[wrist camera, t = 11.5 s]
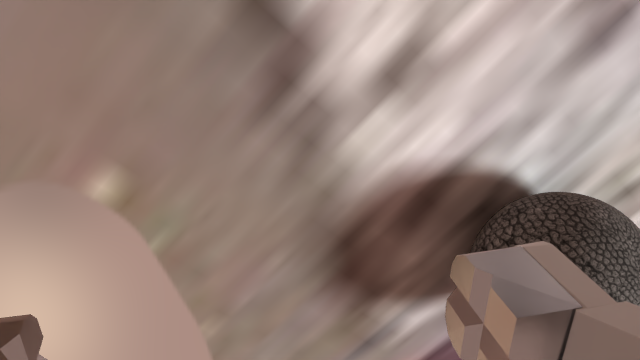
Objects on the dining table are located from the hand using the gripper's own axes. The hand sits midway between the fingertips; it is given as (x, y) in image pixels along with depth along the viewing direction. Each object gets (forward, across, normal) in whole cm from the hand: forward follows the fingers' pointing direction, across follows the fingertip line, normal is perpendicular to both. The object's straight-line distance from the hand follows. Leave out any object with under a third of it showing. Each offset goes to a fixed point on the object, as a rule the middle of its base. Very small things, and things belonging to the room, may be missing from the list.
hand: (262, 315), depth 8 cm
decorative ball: (+20, -18, +13) cm, 30 cm away
